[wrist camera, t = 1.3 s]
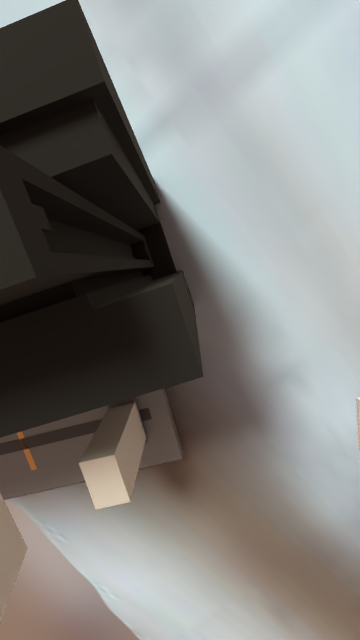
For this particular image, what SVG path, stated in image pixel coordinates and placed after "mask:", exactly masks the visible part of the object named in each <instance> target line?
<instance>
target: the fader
mask: <svg viewBox="0 0 360 640" xmlns="http://www.w3.org/2000/svg"><path fill="white" fill-rule="evenodd" d="M107 406H108V411H107V413H106V414H105V416H104V418H103V420H102V422H101V423H100V425H99V427H98V429H97V431H96V432H95V434H94V436H93V438H92V440H91V442H90V443H89V445H88V447H87V449H86V451H85V452H84V454H83V456H82V458H81V460H80V462H79V465H80V468H81V471H82V473H83V476H84V479H85V482H86V484H87V487H88V490H89V493H90V495H91V498H92V501H93V503H94V506H95V509H100V508H105V507H109V506H114V505H118V504H123V503H127V502H130V501H131V497H132V493H133V489H134V485H135V481H136V477H137V473H138V469H139V464H140V460H141V456H142V452H143V448H144V444H145V443H148V436H147V433H146V430H145V427H144V424H143V421H142V417H141V414H140V411H139V408H138V405H137V402H136V399H135V397H134V398H130V399H127V400H124V401H121V402H117V403H114V404H111V405H107Z"/></svg>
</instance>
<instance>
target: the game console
mask: <svg viewBox="0 0 360 640" xmlns="http://www.w3.org/2000/svg"><path fill="white" fill-rule="evenodd" d="M157 203H160V200H159V197H158V194H157V190H156V187H155V184H154V181H153V178H152V175H151V173H150V171H149V168H148V166H147V163H146V161H145V159H144V156H143V154H142V151H141V149H140V147H139V144H138V142H137V140H136V137H135V135H134V132H133V130H132V128H131V125H130V123H129V121H128V118H127V116H126V113H125V111H124V109H123V106H122V104H121V101H120V99H119V97H118V94H117V92H116V90H115V87H114V85H113V82H112V80H111V78H110V75H109V73H108V70H107V68H106V66H105V63H104V61H103V59H102V56H101V54H100V51H99V49H98V47H97V44H96V42H95V40H94V37H93V35H92V32H91V30H90V28H89V25H88V23H87V20H86V18H85V16H84V13H83V11H82V9H81V6H80V4H79V1H78V0H66V1H63V2H61V3H59V4H56V5H54V6H52V7H49V8H47V9H45V10H42V11H40V12H38V13H35V14H33V15H31V16H28V17H26V18H23V19H21V20H19V21H16V22H14V23H12V24H9V25H7V26H5V27H2V28H0V438H1V437H5V436H8V435H11V434H15V433H18V432H21V431H25V430H28V429H31V428H35V427H38V426H41V425H44V424H48V423H51V422H54V421H58V420H61V419H64V418H68V417H71V416H74V415H78V414H81V413H84V412H87V411H91V410H94V409H97V408H101V407H104V406H107V405H111V404H114V403H117V402H121V401H124V400H127V399H130V398H134V397H137V396H140V395H144V394H147V393H150V392H154V391H157V390H160V389H164V388H167V387H170V386H174V385H177V384H180V383H183V382H187V381H190V380H193V379H197V378H200V377H203V372H202V364H201V356H200V349H199V341H198V333H197V325H196V318H195V310H194V304H193V301H192V298H191V295H190V292H189V289H188V286H187V283H186V280H185V277H184V273H183V271H180V272H176V269H175V266H174V263H173V260H172V257H171V254H170V251H169V248H168V245H167V242H166V239H165V236H164V232H163V229H162V226H161V223H160V220H159V217H158V214H157V211H156V208H155V205H154V204H157Z"/></svg>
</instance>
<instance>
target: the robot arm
mask: <svg viewBox="0 0 360 640" xmlns="http://www.w3.org/2000/svg"><path fill="white" fill-rule="evenodd" d="M357 420H358V443H359V458H360V397H357ZM26 550H27V546H26V544H25V542H24V540H23V538H22V536H21V534H20V532H19V530H18V528H17V526H16V524H15V522H14V520H13V518H12V516H11V514H10V512H9V510H8V508H7V506H6V503H5V501H4V499H3V497H2V495H1V493H0V621H1V619H2V616H3V613H4V611H5V608H6V605H7V602H8V600H9V597H10V594H11V591H12V588H13V586H14V583H15V581H16V578H17V575H18V572H19V570H20V567H21V564H22V561H23V559H24V556H25V553H26Z"/></svg>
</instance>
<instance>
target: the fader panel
mask: <svg viewBox="0 0 360 640" xmlns="http://www.w3.org/2000/svg"><path fill="white" fill-rule="evenodd" d="M135 399H136V402H137V405H138V408H139V411H140V414H141V417H142V421H143V424H144V427H145V430H146V433H147V436H148V443H145V444H144V448H143V452H142V456H141V460H140V464H139V469H141V468H146V467H150V466H154V465H159V464H163V463H168V462H172V461H176V460H181V459H182V450H183V449H182V445H181V442H180V439H179V435H178V432H177V429H176V425H175V422H174V419H173V415H172V412H171V409H170V405H169V402H168V399H167V395H166V392H165V388H164V389H160V390H157V391H154V392H150V393H147V394H144V395H140V396H137V397H135ZM107 411H108V406H104V407H101V408H97V409H94V410H91V411H87V412H84V413H81V414H78V415H74V416H71V417H68V418H64V419H61V420H58V421H54V422H51V423H48V424H44V425H41V426H38V427H35V428H31V429H28V430H25V431H21V432H18V433H15V434H11V435H8V436H5V437H1V438H0V493H1V495H2V497H3V499H4V500H5V499H10V498H14V497H18V496H23V495H27V494H32V493H36V492H40V491H45V490H49V489H54V488H58V487H62V486H67V485H71V484H75V483H80V482H84V481H85V479H84V476H83V473H82V471H81V468H80V465H79V462H80V460H81V458H82V456H83V454H84V452H85V451H86V449H87V447H88V445H89V443H90V442H91V440H92V438H93V436H94V434H95V432H96V431H97V429H98V427H99V425H100V423H101V422H102V420H103V418H104V416H105V414H106V413H107Z"/></svg>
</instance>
